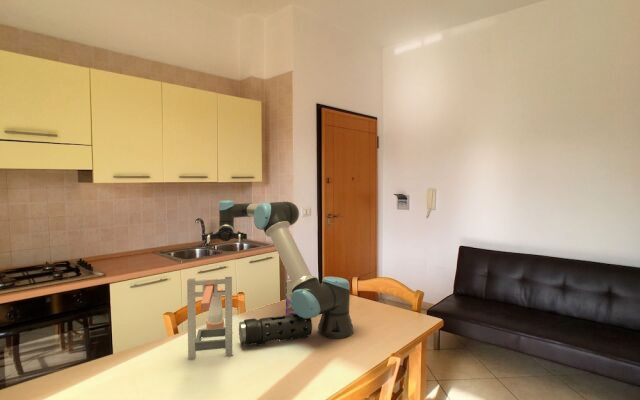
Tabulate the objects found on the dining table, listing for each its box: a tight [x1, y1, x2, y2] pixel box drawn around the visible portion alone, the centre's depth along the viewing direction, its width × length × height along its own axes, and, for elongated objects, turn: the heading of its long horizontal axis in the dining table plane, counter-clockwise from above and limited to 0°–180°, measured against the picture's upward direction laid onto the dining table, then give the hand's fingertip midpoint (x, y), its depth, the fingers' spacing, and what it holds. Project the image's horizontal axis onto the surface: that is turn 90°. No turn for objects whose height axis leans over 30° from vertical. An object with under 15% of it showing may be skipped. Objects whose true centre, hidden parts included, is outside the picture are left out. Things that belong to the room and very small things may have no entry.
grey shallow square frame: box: [196, 327, 225, 351], centre depth 145 cm, size 12×12×3 cm
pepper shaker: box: [206, 286, 225, 329], centre depth 158 cm, size 7×7×19 cm
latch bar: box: [200, 278, 219, 312], centre depth 124 cm, size 22×5×5 cm, turn 12°
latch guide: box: [186, 276, 233, 361], centre depth 133 cm, size 2×15×29 cm, turn 102°
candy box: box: [285, 277, 296, 315], centre depth 177 cm, size 14×6×16 cm, turn 77°
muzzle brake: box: [238, 314, 313, 346], centre depth 146 cm, size 10×28×10 cm, turn 110°
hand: (223, 239), depth 162 cm, fingers open, 13 cm apart
